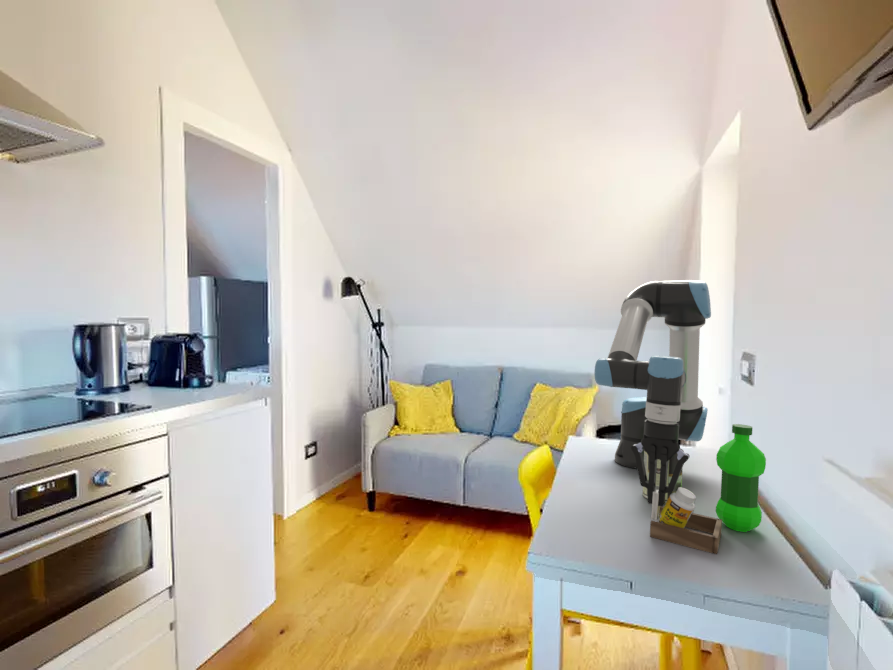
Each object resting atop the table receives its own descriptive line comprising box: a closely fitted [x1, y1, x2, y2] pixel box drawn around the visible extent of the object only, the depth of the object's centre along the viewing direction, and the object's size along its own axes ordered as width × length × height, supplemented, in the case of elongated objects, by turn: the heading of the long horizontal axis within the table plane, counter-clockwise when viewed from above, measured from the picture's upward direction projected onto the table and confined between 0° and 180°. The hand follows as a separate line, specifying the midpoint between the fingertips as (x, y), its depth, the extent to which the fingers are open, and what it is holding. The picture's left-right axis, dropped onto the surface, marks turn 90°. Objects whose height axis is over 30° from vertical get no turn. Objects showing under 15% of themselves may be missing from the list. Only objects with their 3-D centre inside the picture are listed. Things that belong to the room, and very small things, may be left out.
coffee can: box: [642, 448, 685, 504], centre depth 134 cm, size 10×10×14 cm
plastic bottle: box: [715, 423, 767, 533], centre depth 115 cm, size 10×10×25 cm
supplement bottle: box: [657, 487, 696, 528], centre depth 110 cm, size 6×6×10 cm
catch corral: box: [649, 505, 723, 555], centre depth 110 cm, size 12×14×4 cm
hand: (655, 518), depth 113 cm, fingers closed
